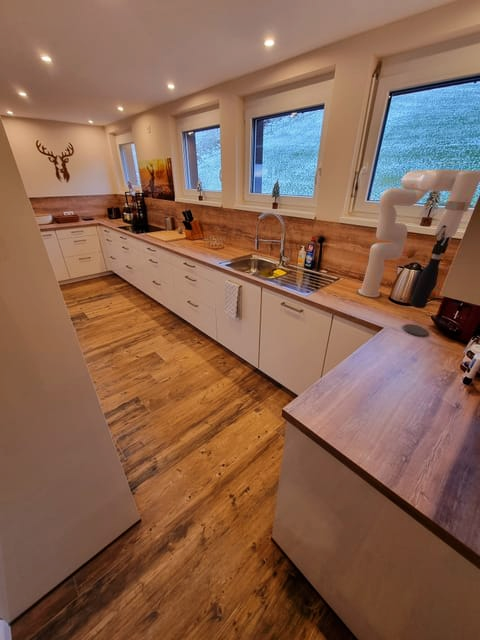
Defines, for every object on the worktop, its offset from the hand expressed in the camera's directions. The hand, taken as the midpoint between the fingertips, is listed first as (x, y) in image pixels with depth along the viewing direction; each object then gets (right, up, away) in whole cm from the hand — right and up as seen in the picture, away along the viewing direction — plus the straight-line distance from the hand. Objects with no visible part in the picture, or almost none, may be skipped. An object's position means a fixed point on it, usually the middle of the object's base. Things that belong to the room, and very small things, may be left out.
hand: (438, 253), depth 111 cm
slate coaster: (+1, -34, +16) cm, 37 cm away
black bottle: (-1, -22, +12) cm, 25 cm away
